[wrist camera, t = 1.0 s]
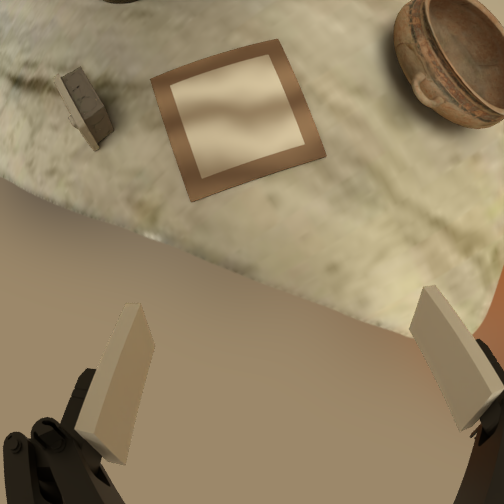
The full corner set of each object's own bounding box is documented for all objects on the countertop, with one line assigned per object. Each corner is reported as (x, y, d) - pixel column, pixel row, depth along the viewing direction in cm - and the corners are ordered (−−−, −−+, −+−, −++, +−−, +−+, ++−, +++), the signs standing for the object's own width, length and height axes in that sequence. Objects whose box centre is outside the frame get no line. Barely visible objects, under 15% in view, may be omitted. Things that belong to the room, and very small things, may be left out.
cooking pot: (427, 2, 29) (465, -31, 17) (497, 92, 31) (545, 78, 19) (332, 59, 31) (368, 9, 19) (425, 174, 34) (489, 170, 22)
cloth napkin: (151, 80, 30) (149, 78, 30) (277, 40, 30) (278, 38, 29) (191, 202, 33) (190, 202, 32) (325, 156, 33) (327, 156, 32)
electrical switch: (70, 106, 30) (40, 85, 22) (98, 85, 30) (73, 57, 22) (96, 153, 32) (67, 138, 23) (126, 130, 32) (103, 108, 24)
